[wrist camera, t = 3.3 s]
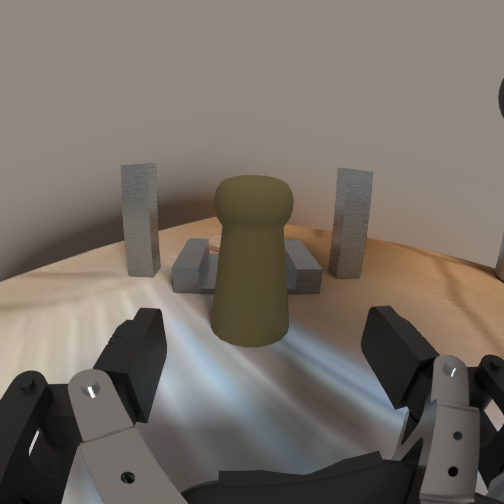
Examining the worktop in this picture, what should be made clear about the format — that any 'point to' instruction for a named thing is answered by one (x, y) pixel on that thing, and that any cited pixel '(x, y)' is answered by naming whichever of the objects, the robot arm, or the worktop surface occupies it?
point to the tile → (214, 242)
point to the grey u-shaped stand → (205, 265)
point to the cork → (251, 261)
